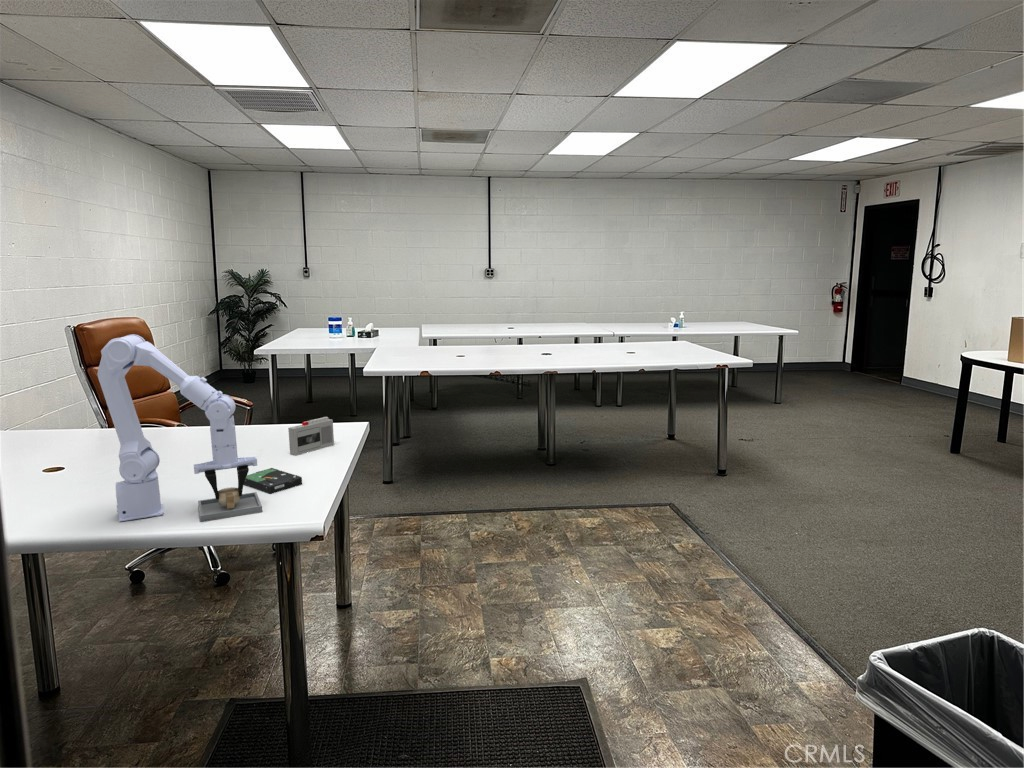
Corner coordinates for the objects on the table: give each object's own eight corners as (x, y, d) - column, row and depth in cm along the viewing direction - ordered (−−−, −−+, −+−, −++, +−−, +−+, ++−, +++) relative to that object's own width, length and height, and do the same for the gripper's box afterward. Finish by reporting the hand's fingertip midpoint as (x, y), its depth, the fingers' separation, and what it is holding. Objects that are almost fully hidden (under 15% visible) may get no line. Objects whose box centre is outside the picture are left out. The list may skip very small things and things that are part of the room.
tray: (200, 521, 161) (200, 516, 160) (198, 506, 171) (198, 500, 171) (262, 511, 167) (262, 506, 166) (256, 497, 177) (256, 491, 177)
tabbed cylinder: (218, 500, 171) (217, 489, 170) (239, 497, 173) (238, 486, 173) (220, 509, 164) (218, 498, 164) (241, 506, 166) (240, 494, 166)
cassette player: (295, 456, 216) (293, 425, 214) (290, 454, 218) (288, 424, 216) (334, 445, 229) (332, 416, 227) (329, 444, 230) (327, 415, 228)
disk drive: (303, 486, 188) (272, 476, 197) (302, 476, 187) (271, 466, 196) (270, 496, 180) (239, 485, 189) (270, 486, 179) (239, 475, 188)
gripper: (192, 452, 160) (197, 506, 163) (256, 444, 167) (261, 496, 169) (191, 445, 167) (196, 497, 169) (253, 438, 173) (257, 488, 175)
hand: (228, 496), depth 170 cm, fingers closed on tabbed cylinder, 5 cm apart
